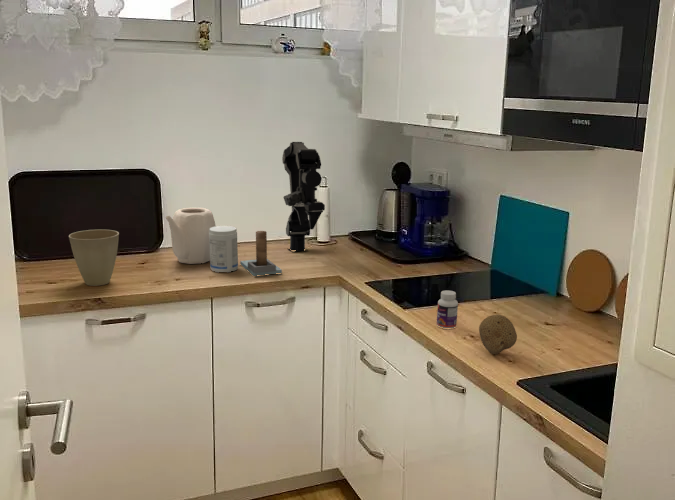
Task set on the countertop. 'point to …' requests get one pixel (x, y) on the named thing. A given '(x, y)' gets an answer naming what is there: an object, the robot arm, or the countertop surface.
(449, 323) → the pill bottle
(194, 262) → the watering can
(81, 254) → the plant pot
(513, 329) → the natural sponge
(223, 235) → the supplement tub
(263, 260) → the stool leg
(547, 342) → the countertop surface
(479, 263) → the countertop surface
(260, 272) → the seat board
